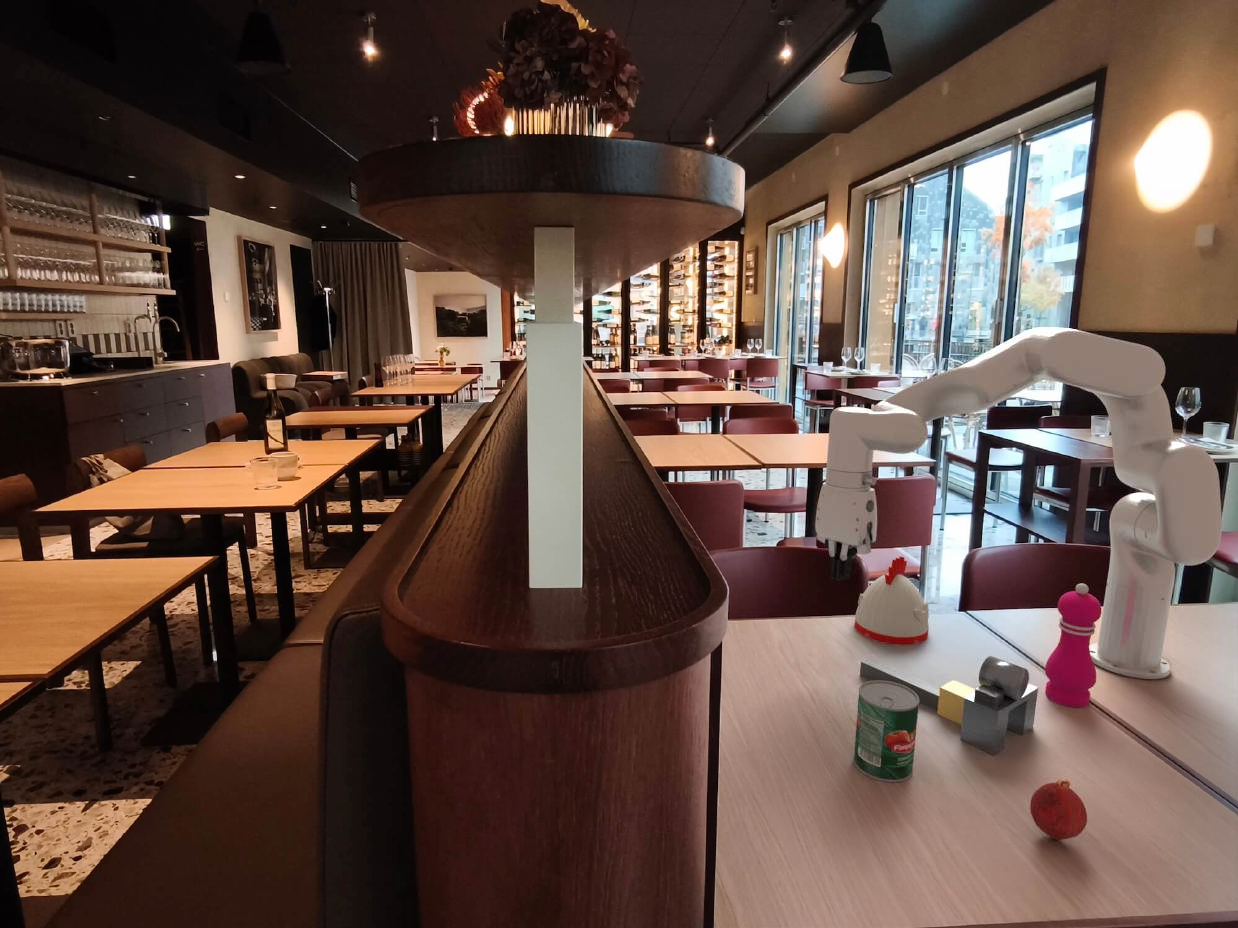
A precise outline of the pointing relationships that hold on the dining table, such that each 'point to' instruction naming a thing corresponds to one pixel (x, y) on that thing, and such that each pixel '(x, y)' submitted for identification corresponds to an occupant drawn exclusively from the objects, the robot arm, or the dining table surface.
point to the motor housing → (998, 705)
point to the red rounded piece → (1058, 810)
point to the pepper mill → (1073, 650)
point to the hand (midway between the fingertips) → (840, 578)
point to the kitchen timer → (893, 609)
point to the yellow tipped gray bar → (923, 689)
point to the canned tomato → (886, 730)
